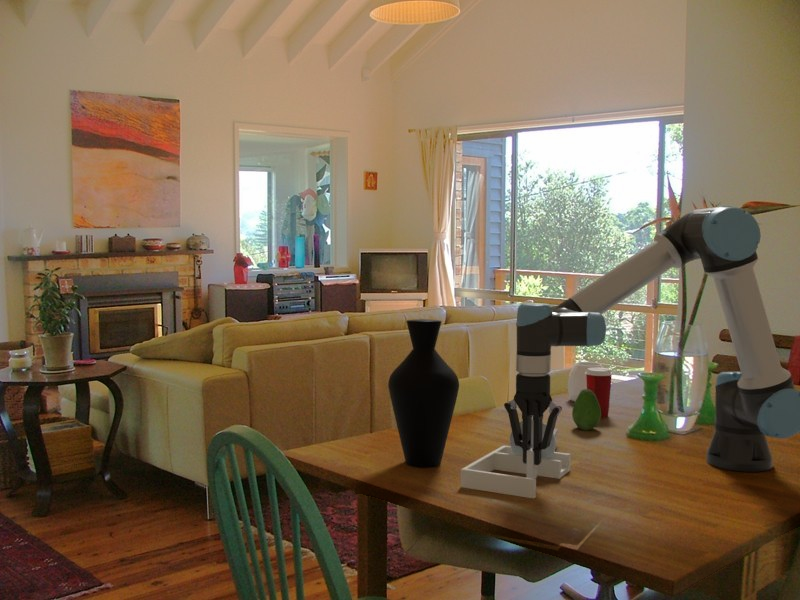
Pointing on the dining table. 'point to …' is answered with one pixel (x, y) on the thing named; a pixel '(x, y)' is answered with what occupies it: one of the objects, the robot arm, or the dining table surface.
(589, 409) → the fruit
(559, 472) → the dish rack
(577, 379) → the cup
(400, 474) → the dining table surface
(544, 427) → the grey plate
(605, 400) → the coffee cup
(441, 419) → the vase
